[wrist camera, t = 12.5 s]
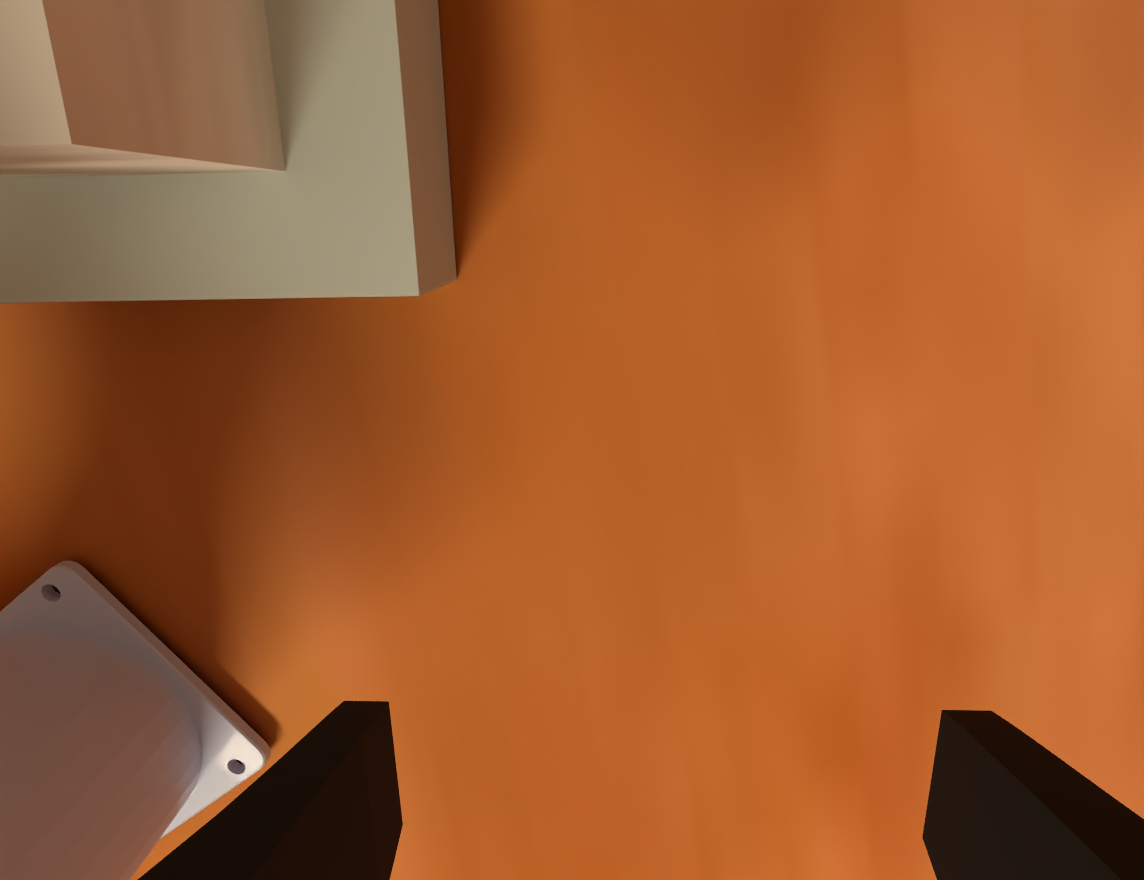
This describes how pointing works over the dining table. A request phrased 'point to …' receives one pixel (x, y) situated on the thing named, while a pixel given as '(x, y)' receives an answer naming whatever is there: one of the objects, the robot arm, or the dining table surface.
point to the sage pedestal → (270, 185)
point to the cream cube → (136, 88)
